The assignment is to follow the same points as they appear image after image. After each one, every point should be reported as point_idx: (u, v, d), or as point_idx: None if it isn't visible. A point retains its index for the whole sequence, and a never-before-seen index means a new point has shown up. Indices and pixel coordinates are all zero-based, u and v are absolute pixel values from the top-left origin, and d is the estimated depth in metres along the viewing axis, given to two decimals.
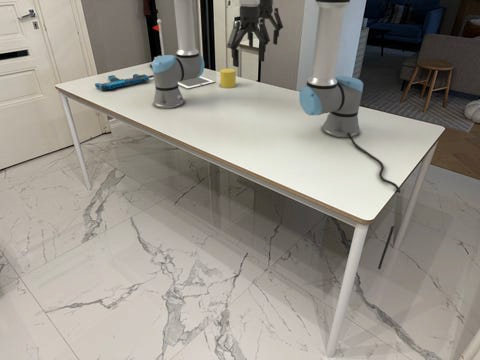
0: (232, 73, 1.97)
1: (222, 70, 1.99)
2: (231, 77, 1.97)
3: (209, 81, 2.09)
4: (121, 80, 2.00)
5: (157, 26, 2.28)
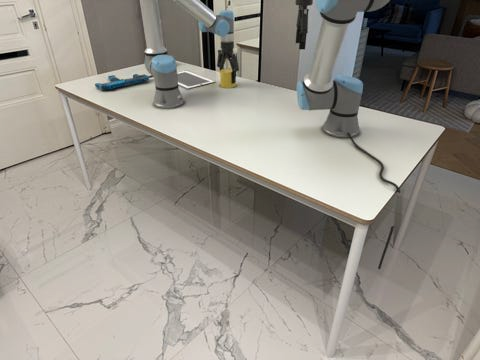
0: None
1: (222, 70, 1.99)
2: (231, 77, 1.97)
3: (209, 81, 2.09)
4: (121, 80, 2.00)
5: None
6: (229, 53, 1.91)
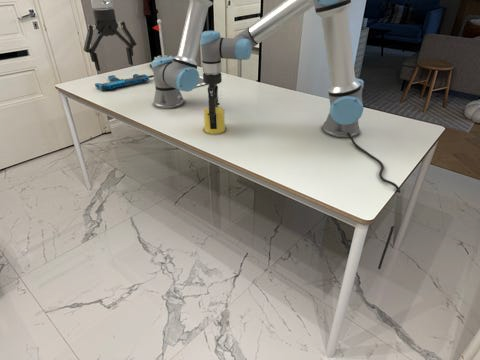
0: (205, 114, 1.45)
1: None
2: (204, 118, 1.46)
3: None
4: (121, 80, 2.00)
5: (157, 26, 2.28)
6: None
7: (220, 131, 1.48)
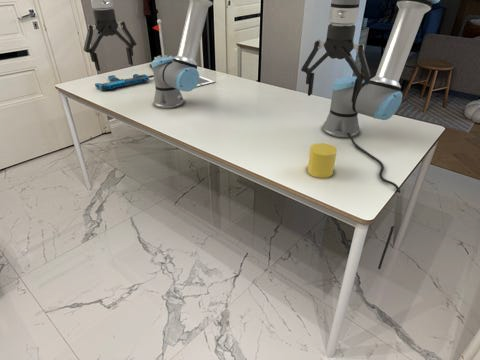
0: (328, 157, 1.13)
1: (314, 147, 1.18)
2: (325, 163, 1.14)
3: (209, 81, 2.09)
4: (121, 80, 2.00)
5: (157, 26, 2.28)
6: None
7: None
